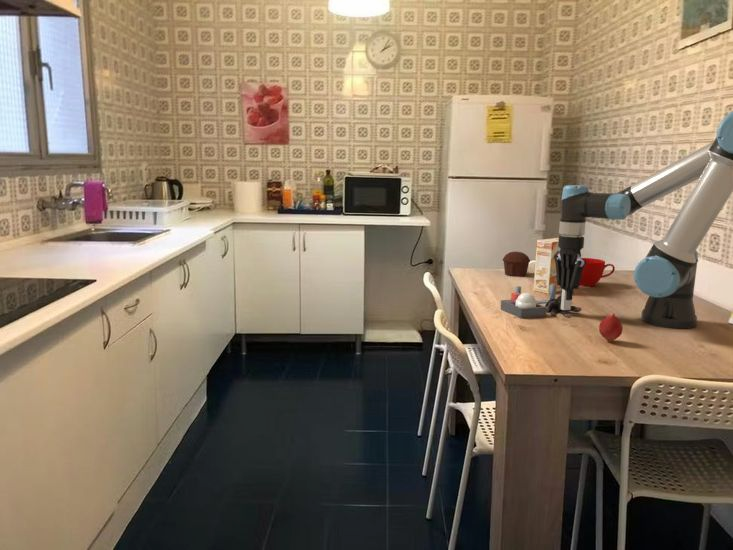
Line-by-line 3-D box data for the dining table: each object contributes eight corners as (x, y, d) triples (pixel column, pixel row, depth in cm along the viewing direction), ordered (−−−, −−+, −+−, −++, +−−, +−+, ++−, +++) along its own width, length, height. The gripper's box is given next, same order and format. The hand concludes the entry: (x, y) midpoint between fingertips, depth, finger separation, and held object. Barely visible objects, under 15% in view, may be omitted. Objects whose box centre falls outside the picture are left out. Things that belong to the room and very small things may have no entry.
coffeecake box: (548, 294, 216) (552, 241, 212) (532, 290, 221) (535, 239, 218) (571, 289, 225) (575, 238, 222) (554, 286, 231) (558, 237, 227)
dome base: (545, 316, 183) (547, 299, 182) (520, 318, 181) (522, 301, 180) (524, 307, 194) (525, 291, 193) (500, 309, 192) (501, 293, 191)
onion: (594, 341, 157) (596, 312, 156) (603, 337, 161) (606, 309, 160) (615, 346, 153) (618, 316, 152) (624, 341, 157) (627, 313, 156)
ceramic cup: (617, 289, 226) (619, 264, 224) (571, 287, 228) (573, 262, 227) (608, 283, 238) (611, 258, 237) (565, 281, 241) (567, 257, 239)
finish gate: (556, 302, 203) (557, 285, 202) (517, 305, 198) (518, 287, 197) (552, 300, 205) (553, 283, 204) (513, 303, 200) (514, 286, 199)
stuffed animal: (540, 312, 184) (545, 285, 192) (541, 332, 191) (546, 306, 198) (579, 316, 180) (583, 288, 187) (579, 337, 186) (583, 309, 194)
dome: (539, 313, 184) (541, 294, 183) (522, 315, 182) (523, 295, 181) (528, 309, 190) (529, 290, 189) (511, 310, 188) (512, 291, 187)
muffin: (532, 274, 255) (534, 251, 253) (524, 278, 246) (526, 254, 244) (506, 271, 261) (507, 249, 260) (497, 275, 252) (499, 252, 250)
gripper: (595, 237, 176) (589, 313, 181) (568, 232, 188) (562, 304, 193) (575, 238, 174) (568, 315, 178) (548, 233, 186) (543, 305, 190)
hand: (565, 309), depth 186 cm, fingers closed
